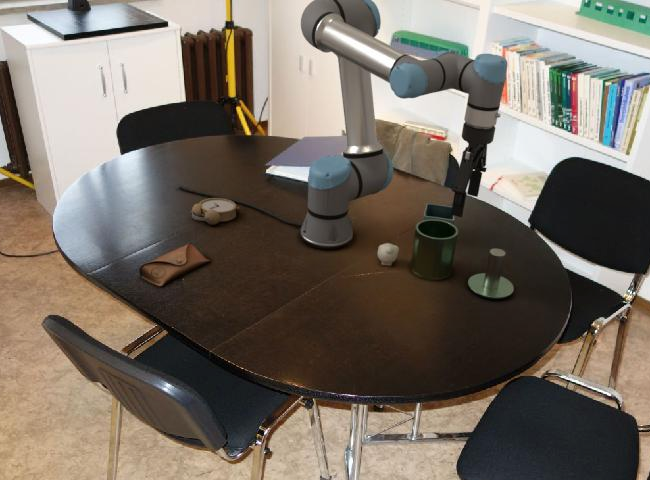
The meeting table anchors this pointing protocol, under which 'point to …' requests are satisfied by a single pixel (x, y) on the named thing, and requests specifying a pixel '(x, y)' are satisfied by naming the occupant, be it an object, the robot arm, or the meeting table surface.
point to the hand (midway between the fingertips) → (464, 205)
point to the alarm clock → (214, 210)
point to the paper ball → (387, 253)
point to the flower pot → (438, 213)
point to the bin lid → (492, 278)
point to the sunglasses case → (172, 265)
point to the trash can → (433, 249)
